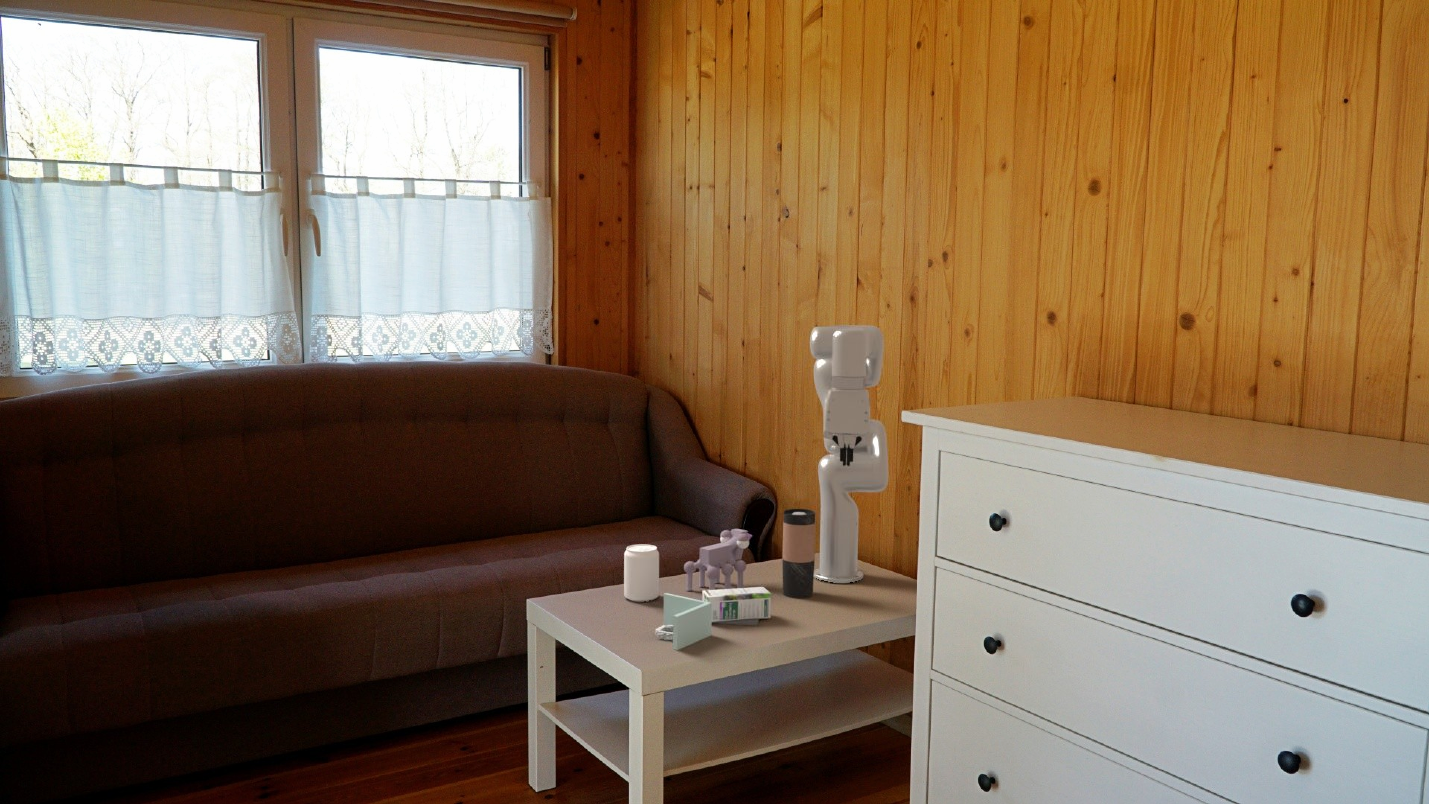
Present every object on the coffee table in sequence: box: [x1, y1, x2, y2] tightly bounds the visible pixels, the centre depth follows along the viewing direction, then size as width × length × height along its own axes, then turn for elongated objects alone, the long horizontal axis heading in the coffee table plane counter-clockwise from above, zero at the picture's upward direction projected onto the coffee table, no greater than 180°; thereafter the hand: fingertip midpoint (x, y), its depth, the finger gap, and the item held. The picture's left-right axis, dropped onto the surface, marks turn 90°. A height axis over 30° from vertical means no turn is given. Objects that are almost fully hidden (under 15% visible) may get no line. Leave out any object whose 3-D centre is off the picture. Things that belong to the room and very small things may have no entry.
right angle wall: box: [654, 592, 713, 651], centre depth 224 cm, size 12×12×8 cm
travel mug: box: [781, 508, 816, 599], centre depth 255 cm, size 8×8×20 cm
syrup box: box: [702, 586, 772, 622], centre depth 236 cm, size 6×6×14 cm
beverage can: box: [623, 543, 660, 603], centre depth 251 cm, size 8×8×12 cm
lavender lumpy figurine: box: [683, 528, 753, 592], centre depth 262 cm, size 20×11×14 cm, turn 136°
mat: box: [692, 598, 760, 627], centre depth 241 cm, size 16×20×1 cm
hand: (846, 464), depth 243 cm, fingers closed
